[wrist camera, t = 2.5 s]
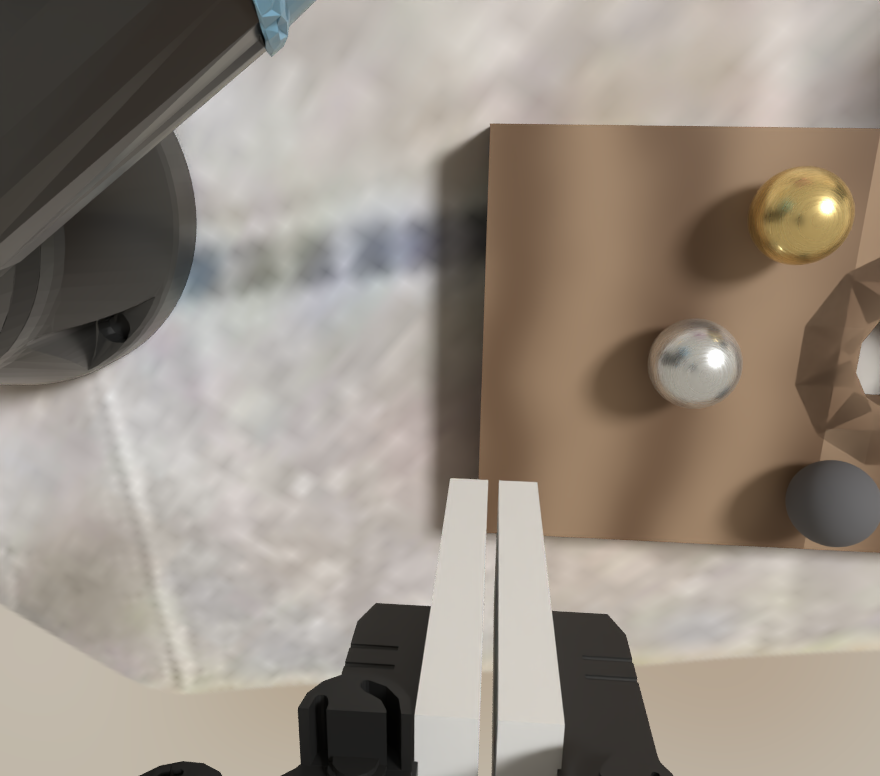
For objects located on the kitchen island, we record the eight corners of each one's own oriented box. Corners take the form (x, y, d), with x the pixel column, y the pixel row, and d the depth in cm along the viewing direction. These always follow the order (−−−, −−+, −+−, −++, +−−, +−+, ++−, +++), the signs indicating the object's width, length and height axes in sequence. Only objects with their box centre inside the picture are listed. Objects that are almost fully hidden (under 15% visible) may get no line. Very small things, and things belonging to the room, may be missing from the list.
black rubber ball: (767, 519, 32) (798, 561, 28) (779, 445, 30) (812, 480, 27) (850, 523, 31) (890, 566, 28) (865, 448, 30) (909, 484, 27)
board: (478, 506, 35) (476, 532, 33) (491, 125, 30) (490, 123, 28) (963, 529, 34) (999, 558, 31) (1066, 133, 28) (1117, 131, 26)
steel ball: (636, 390, 30) (652, 419, 27) (644, 308, 29) (662, 328, 26) (721, 394, 30) (748, 423, 27) (732, 311, 29) (762, 331, 26)
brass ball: (729, 257, 28) (759, 270, 25) (741, 164, 27) (774, 165, 24) (821, 259, 28) (863, 273, 25) (837, 165, 27) (882, 167, 24)
